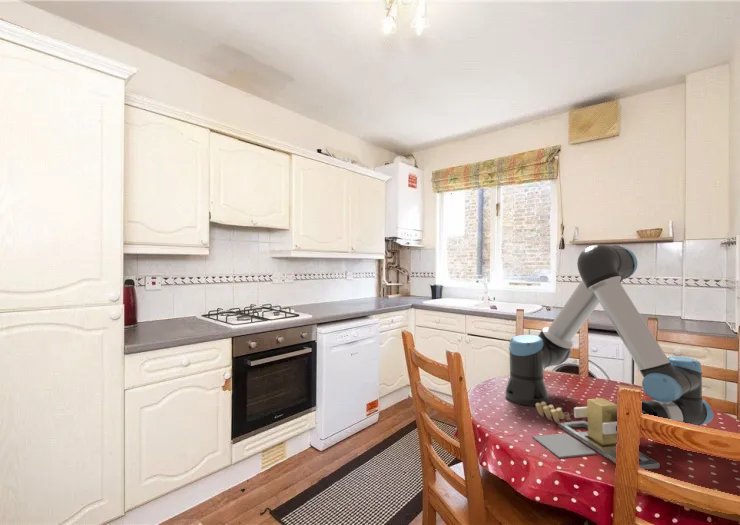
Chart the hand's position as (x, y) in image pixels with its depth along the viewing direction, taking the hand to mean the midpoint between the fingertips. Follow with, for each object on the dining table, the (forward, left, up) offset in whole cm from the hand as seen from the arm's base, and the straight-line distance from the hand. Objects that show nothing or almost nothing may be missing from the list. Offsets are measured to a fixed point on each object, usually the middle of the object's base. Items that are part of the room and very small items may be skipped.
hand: (588, 420), depth 94 cm
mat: (-6, -4, -7) cm, 10 cm away
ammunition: (-11, +14, -8) cm, 19 cm away
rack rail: (+3, +3, -7) cm, 8 cm away
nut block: (+3, +3, -7) cm, 8 cm away
